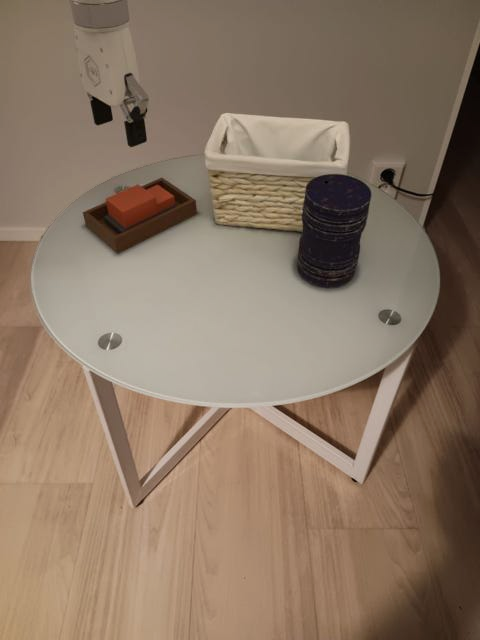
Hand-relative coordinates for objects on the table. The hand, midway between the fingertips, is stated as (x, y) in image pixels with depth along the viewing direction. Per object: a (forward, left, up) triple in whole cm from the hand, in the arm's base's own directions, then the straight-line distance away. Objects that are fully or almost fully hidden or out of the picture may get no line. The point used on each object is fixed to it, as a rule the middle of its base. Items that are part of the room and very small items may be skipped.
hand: (120, 133), depth 81 cm
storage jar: (+16, -32, -18) cm, 40 cm away
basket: (+22, -14, -18) cm, 32 cm away
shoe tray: (+1, 0, -17) cm, 17 cm away
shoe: (+1, 0, -17) cm, 17 cm away
